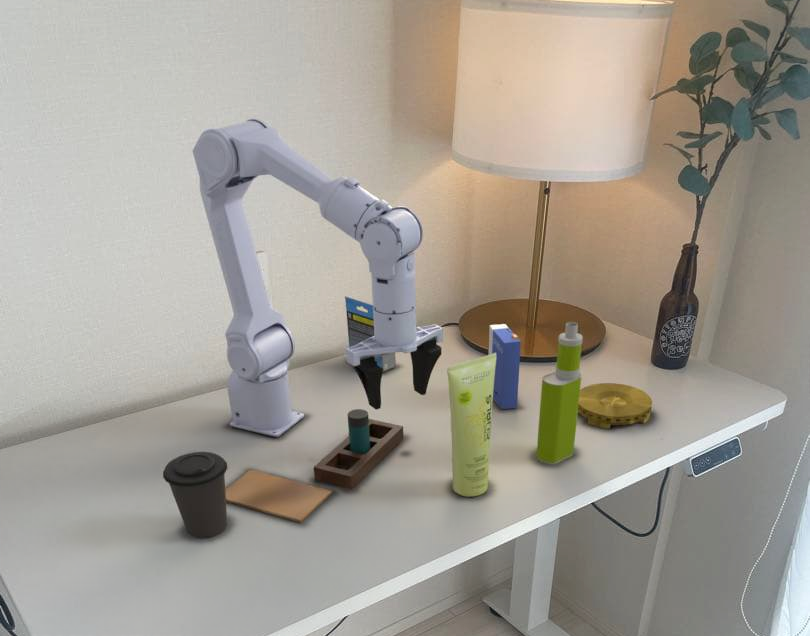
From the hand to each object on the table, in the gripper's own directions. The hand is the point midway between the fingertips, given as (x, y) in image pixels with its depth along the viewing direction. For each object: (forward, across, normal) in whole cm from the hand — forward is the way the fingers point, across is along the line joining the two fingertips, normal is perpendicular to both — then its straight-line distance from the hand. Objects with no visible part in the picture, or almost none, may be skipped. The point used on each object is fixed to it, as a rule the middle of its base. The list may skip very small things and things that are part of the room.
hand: (397, 399), depth 115 cm
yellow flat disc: (+10, +36, -7) cm, 38 cm away
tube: (+10, +4, -13) cm, 16 cm away
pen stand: (+10, -5, +3) cm, 11 cm away
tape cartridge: (+10, +14, +32) cm, 36 cm away
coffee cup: (+10, -30, 0) cm, 32 cm away
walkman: (+10, +25, +7) cm, 27 cm away
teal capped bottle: (+10, -5, +3) cm, 11 cm away
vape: (+10, +20, -12) cm, 25 cm away
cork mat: (+10, -20, +2) cm, 22 cm away
